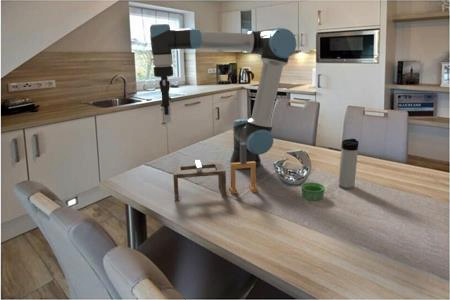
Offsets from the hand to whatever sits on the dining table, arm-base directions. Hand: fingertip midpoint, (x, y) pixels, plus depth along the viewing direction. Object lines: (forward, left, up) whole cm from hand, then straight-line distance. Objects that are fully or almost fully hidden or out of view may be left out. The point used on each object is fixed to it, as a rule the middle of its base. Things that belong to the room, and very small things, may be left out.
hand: (167, 119), depth 144 cm
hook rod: (-11, +13, -18) cm, 24 cm away
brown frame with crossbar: (-11, +13, -29) cm, 33 cm away
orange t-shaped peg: (-29, +13, -29) cm, 43 cm away
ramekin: (-54, +24, -29) cm, 66 cm away
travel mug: (-72, +18, -29) cm, 79 cm away
